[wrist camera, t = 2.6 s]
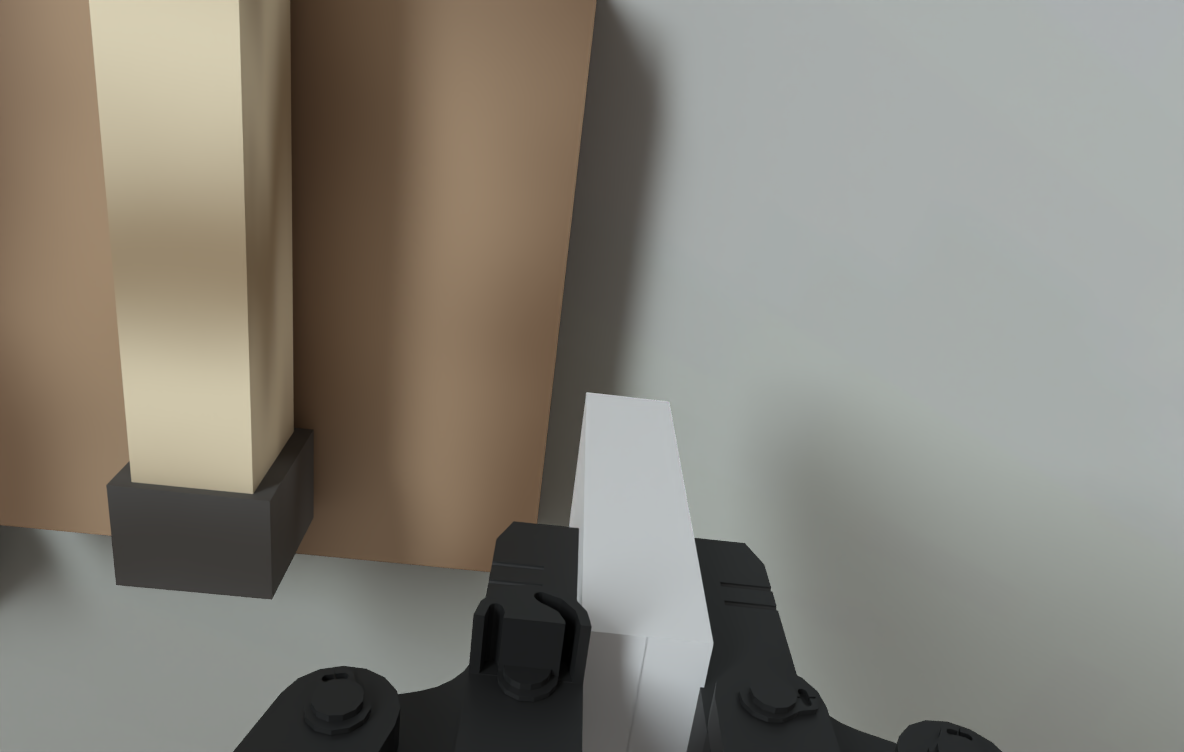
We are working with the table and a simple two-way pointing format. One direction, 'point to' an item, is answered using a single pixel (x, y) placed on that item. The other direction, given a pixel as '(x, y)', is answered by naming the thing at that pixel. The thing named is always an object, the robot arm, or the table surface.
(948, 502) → the table surface
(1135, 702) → the table surface
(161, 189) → the leg
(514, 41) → the seat
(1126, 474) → the table surface
